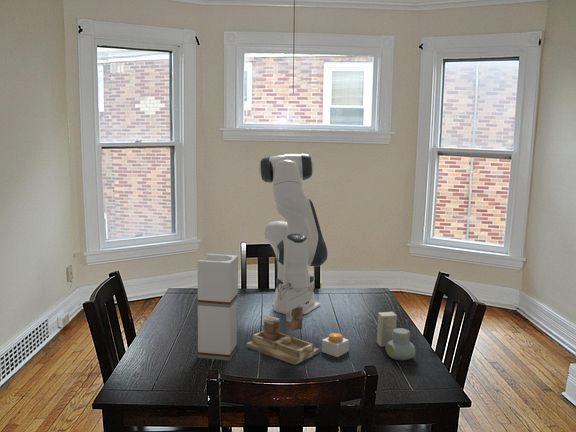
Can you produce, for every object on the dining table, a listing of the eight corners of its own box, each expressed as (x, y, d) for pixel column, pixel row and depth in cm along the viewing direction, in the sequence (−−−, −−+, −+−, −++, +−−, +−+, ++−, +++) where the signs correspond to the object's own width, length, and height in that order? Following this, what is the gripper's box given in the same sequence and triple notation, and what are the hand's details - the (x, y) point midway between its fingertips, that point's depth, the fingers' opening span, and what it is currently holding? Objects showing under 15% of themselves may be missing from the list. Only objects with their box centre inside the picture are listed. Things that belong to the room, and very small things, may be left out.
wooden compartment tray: (271, 336, 222) (272, 310, 220) (319, 352, 208) (320, 325, 206) (246, 346, 212) (246, 319, 210) (294, 365, 197) (295, 336, 195)
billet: (296, 325, 207) (296, 301, 206) (301, 328, 204) (302, 304, 202) (286, 326, 205) (287, 302, 204) (292, 330, 202) (293, 306, 200)
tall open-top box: (237, 348, 210) (238, 255, 204) (229, 360, 199) (230, 262, 194) (207, 345, 212) (207, 253, 206) (198, 357, 201) (197, 260, 195)
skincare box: (391, 341, 220) (393, 311, 218) (395, 346, 216) (397, 315, 214) (376, 342, 219) (377, 311, 217) (379, 346, 214) (381, 315, 212)
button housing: (332, 346, 214) (333, 334, 213) (348, 351, 210) (348, 339, 209) (321, 351, 209) (322, 340, 208) (337, 357, 204) (337, 345, 204)
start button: (333, 340, 212) (334, 331, 212) (344, 344, 209) (345, 335, 208) (325, 344, 208) (326, 335, 208) (336, 348, 205) (337, 339, 205)
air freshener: (382, 352, 210) (384, 326, 208) (403, 350, 212) (405, 324, 210) (396, 364, 199) (397, 337, 198) (417, 362, 202) (419, 335, 200)
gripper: (288, 289, 191) (287, 328, 193) (316, 275, 208) (315, 312, 211) (272, 285, 194) (271, 324, 196) (301, 273, 212) (300, 309, 214)
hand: (294, 318), depth 204 cm, fingers closed on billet, 5 cm apart
